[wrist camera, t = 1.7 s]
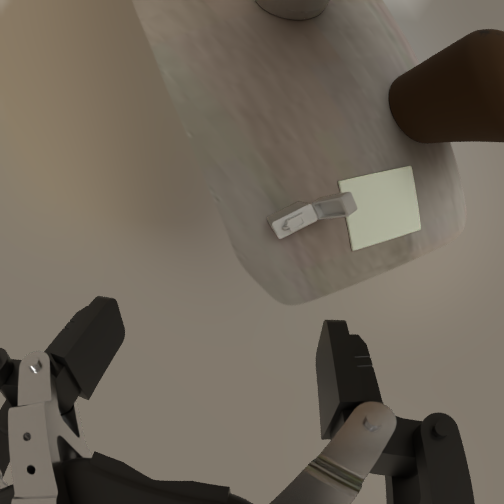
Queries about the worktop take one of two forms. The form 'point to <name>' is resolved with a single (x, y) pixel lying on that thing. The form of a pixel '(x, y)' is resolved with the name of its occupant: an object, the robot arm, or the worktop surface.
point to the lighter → (311, 213)
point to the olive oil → (454, 92)
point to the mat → (382, 206)
